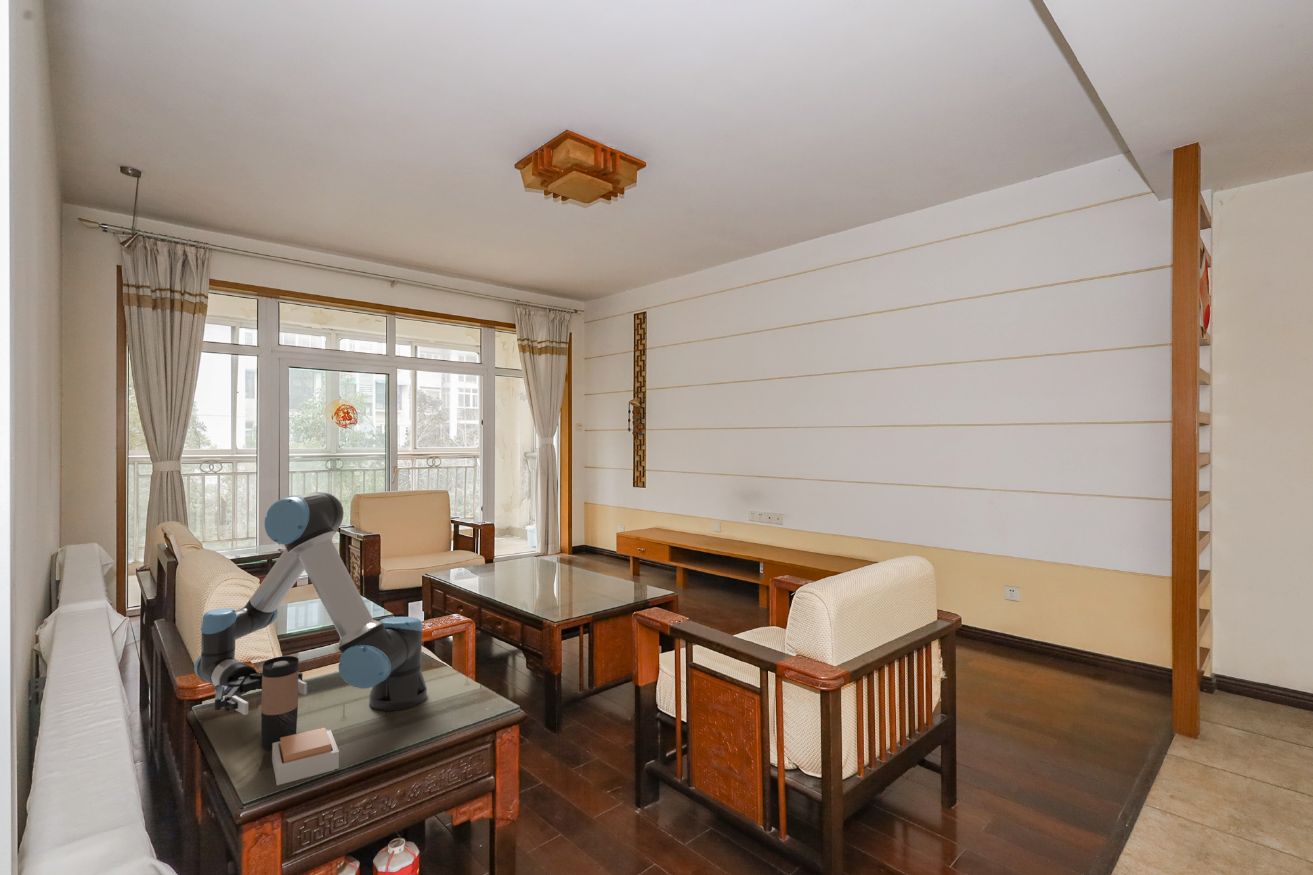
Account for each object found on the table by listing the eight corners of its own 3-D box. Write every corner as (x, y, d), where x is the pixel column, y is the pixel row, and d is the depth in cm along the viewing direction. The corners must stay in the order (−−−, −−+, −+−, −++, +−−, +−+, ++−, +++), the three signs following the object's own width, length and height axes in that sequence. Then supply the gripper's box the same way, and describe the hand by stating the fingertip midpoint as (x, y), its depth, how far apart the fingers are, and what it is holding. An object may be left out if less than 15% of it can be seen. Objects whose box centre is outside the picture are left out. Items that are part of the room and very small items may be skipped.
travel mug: (296, 732, 156) (298, 653, 156) (297, 746, 149) (299, 664, 149) (260, 739, 152) (262, 659, 151) (260, 754, 145) (262, 669, 145)
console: (330, 745, 150) (330, 729, 150) (338, 768, 140) (339, 751, 140) (272, 760, 143) (272, 743, 143) (276, 785, 133) (277, 767, 133)
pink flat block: (324, 739, 148) (325, 727, 148) (330, 756, 141) (331, 743, 141) (279, 750, 143) (280, 737, 143) (283, 768, 135) (284, 755, 135)
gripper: (284, 676, 172) (327, 695, 161) (178, 709, 151) (218, 734, 140) (285, 649, 172) (327, 667, 161) (178, 678, 151) (219, 701, 140)
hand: (277, 698), depth 150 cm, fingers open, 13 cm apart
